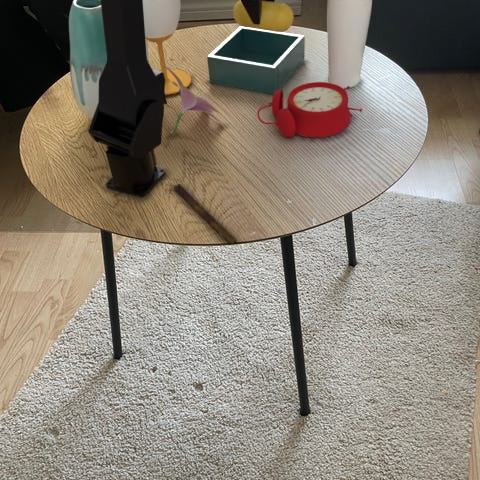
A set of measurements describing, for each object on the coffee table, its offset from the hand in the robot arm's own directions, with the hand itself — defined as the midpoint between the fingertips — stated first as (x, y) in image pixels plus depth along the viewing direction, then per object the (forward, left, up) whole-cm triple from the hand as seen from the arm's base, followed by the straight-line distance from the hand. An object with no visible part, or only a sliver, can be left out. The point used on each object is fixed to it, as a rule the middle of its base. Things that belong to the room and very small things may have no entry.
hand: (262, 18), depth 93 cm
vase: (-17, +19, -11) cm, 28 cm away
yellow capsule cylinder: (0, 0, -2) cm, 2 cm away
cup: (-5, +17, -11) cm, 21 cm away
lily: (-15, +5, -12) cm, 20 cm away
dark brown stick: (-33, -7, -11) cm, 36 cm away
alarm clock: (-8, -11, -12) cm, 18 cm away
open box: (+5, +4, -11) cm, 13 cm away
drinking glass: (+6, -12, -12) cm, 18 cm away
